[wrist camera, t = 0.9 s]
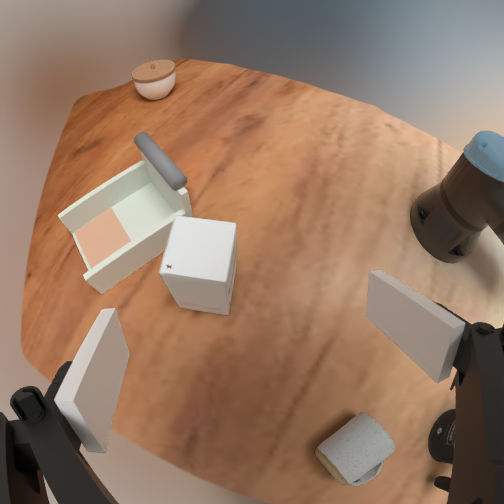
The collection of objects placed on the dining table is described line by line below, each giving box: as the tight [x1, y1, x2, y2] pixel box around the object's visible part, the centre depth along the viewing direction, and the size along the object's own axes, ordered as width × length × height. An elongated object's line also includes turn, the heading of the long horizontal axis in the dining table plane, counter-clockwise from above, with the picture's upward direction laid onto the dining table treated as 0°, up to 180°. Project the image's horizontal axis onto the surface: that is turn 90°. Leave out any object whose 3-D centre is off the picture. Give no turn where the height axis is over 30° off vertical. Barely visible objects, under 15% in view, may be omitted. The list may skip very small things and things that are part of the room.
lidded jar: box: [132, 60, 176, 100], centre depth 60 cm, size 11×11×9 cm
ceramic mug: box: [315, 412, 395, 486], centre depth 28 cm, size 11×8×8 cm
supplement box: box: [159, 215, 237, 315], centre depth 36 cm, size 7×7×13 cm
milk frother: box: [429, 409, 456, 492], centre depth 24 cm, size 14×16×15 cm
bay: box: [58, 132, 193, 294], centre depth 40 cm, size 19×14×12 cm
